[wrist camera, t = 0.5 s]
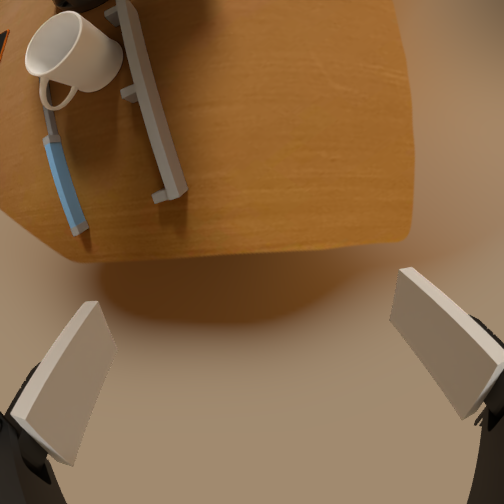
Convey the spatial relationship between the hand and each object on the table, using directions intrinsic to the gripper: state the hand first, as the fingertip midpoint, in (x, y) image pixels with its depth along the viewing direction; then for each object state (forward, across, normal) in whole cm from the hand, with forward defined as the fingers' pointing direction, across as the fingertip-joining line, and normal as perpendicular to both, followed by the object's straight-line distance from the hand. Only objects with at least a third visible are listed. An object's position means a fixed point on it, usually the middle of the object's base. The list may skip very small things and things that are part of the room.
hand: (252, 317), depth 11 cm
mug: (+26, -19, +21) cm, 39 cm away
